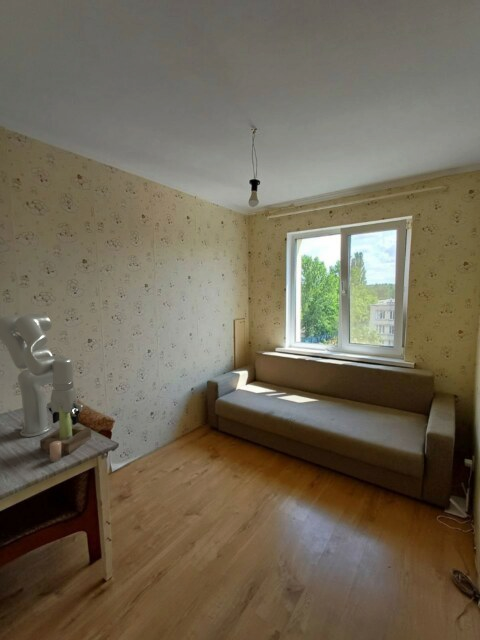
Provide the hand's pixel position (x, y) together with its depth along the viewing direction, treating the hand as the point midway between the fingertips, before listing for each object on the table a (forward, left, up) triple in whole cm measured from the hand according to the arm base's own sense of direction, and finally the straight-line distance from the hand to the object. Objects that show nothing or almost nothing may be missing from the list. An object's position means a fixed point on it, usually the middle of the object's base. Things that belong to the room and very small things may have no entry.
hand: (65, 422), depth 129 cm
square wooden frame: (0, 0, -10) cm, 10 cm away
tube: (0, 0, -10) cm, 10 cm away
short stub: (+4, -11, -10) cm, 16 cm away
